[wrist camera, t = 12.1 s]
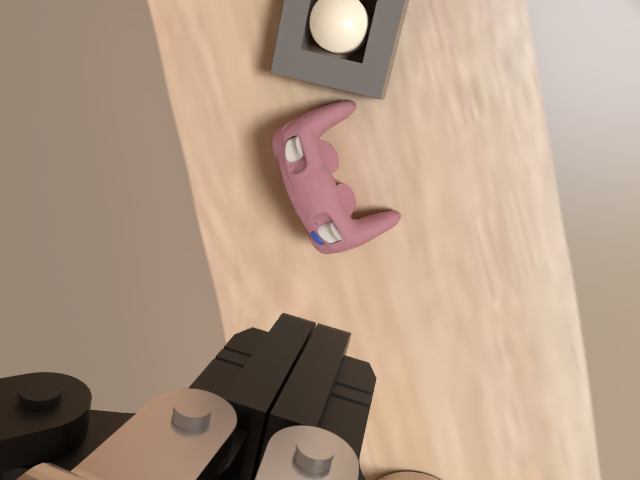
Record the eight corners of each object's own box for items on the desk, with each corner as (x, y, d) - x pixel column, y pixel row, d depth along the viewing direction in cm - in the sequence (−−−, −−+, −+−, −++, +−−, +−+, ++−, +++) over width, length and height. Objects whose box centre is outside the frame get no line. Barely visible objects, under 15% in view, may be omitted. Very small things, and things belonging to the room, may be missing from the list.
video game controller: (311, 114, 41) (247, 136, 36) (357, 91, 38) (294, 111, 33) (361, 234, 42) (307, 272, 37) (410, 221, 39) (357, 260, 34)
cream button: (363, 59, 37) (358, 57, 35) (312, 48, 38) (304, 45, 35) (376, 3, 36) (372, -3, 34) (323, -8, 37) (316, -15, 34)
